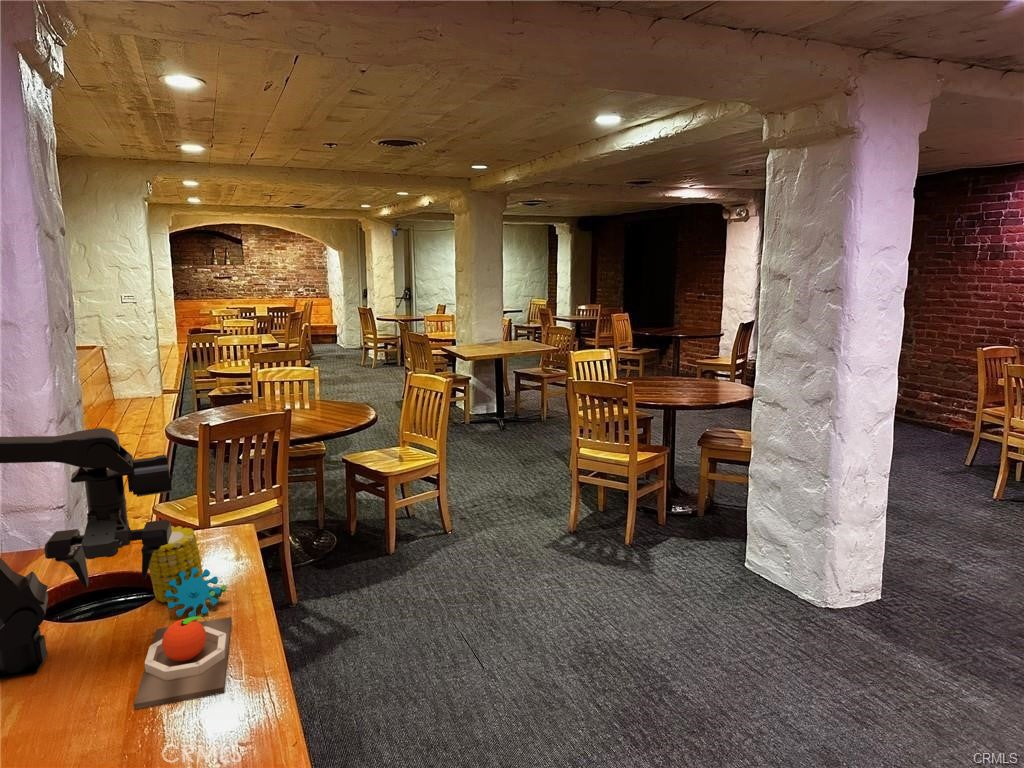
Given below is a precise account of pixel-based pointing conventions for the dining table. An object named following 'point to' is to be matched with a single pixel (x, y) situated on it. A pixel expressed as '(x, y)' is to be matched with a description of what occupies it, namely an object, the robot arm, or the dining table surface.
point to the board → (186, 687)
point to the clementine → (184, 639)
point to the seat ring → (186, 669)
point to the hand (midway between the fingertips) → (115, 582)
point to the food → (174, 562)
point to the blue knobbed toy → (194, 592)
